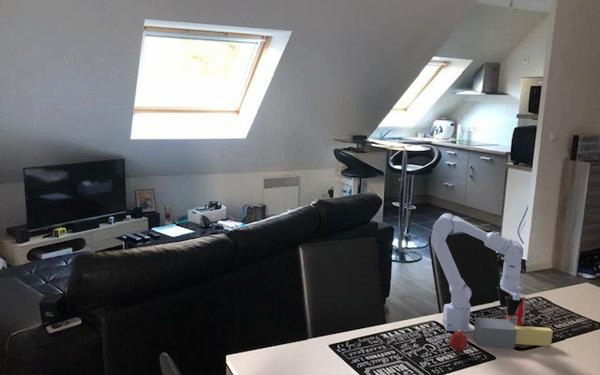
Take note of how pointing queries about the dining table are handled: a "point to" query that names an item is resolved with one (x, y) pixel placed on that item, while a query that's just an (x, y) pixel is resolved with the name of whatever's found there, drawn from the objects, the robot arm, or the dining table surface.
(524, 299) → the beverage can
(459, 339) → the onion
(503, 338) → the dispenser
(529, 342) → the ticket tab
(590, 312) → the dining table surface
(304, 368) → the dining table surface
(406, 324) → the dining table surface
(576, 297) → the dining table surface
